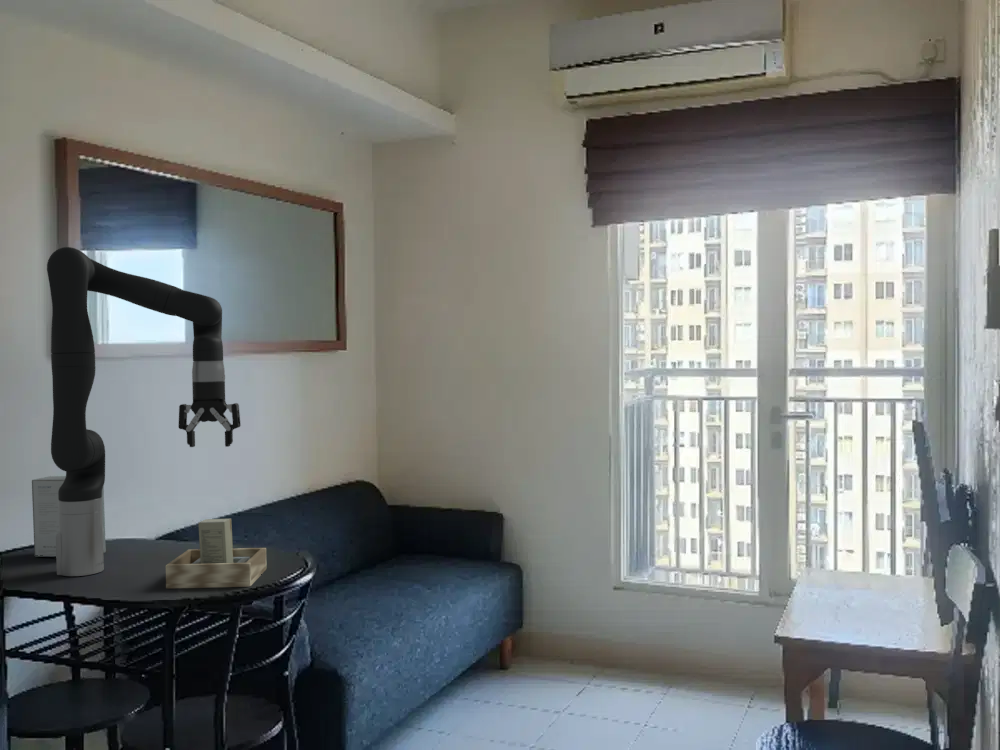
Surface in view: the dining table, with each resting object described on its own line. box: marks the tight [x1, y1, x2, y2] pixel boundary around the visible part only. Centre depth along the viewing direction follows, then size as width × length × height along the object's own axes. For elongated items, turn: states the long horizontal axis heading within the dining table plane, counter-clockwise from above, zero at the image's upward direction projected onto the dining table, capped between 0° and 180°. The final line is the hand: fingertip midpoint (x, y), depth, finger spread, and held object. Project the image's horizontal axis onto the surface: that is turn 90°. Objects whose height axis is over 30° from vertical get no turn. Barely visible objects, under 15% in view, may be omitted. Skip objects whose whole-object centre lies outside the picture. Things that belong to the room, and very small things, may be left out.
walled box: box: [165, 547, 268, 589], centre depth 206 cm, size 18×16×5 cm
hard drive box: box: [31, 475, 107, 556], centre depth 232 cm, size 16×8×20 cm, turn 81°
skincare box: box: [197, 518, 234, 564], centre depth 205 cm, size 6×4×12 cm
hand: (210, 446), depth 222 cm, fingers open, 8 cm apart
